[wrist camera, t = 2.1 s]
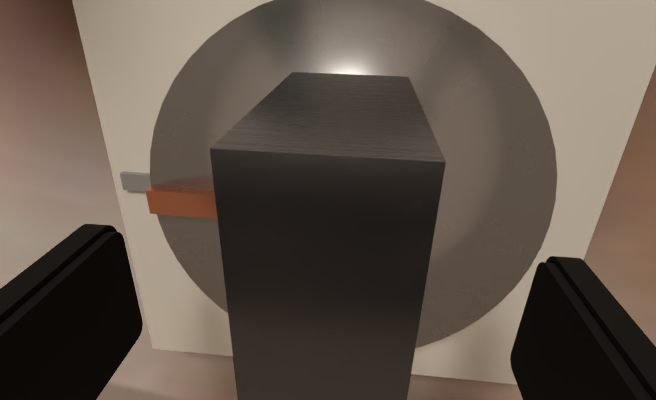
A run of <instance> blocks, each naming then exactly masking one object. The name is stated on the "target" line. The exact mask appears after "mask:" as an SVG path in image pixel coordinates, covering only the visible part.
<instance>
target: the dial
mask: <svg viewBox="0 0 656 400" xmlns="http://www.w3.org/2000/svg"><path fill="white" fill-rule="evenodd" d="M150 181H151V186H150V187H149V188H148V189H147V190H145V191H146V196H147V201H148V206H149V211H150V214H157V217H158V221H159V223H160V226H161V228H162V231H163V233H164V236H165V238H166V241H167V242H168V244H169V246H170V248H171V250H172V251H173V253H174V255H175V257H176V259H177V260H178V262H179V263H180V265H181V266H182V267H183V269H184V270H185V272H186V273H187V274H188V276H189V277H190V278H191V279H192V280H193V282H194V283H195V284H196V285H197V286H198V287H199V288H200V289H201V291H202V292H203V293H204V294H205V295H206V296H208V297H209V298H210V299H211V300H212V301H213V302H214V303H215V304H216V305H218V306H219V307H220V308H221V309H223V310H224V311H225V312H227V313H228V317H229V326H230V334H231V343H232V352H233V361H234V370H235V379H236V388H237V397H238V400H407V395H408V389H409V383H410V377H411V371H412V365H413V358H414V352H415V348H418V347H422V346H425V345H428V344H430V343H433V342H436V341H439V340H442V339H444V338H446V337H448V336H450V335H452V334H454V333H456V332H459V331H461V330H463V329H464V328H466V327H467V326H469V325H471V324H472V323H474V322H475V321H477V320H479V319H480V318H482V317H483V316H484V315H486V314H487V313H488V312H489V311H491V310H492V309H493V308H494V307H496V306H497V305H498V304H499V303H500V302H501V301H502V300H503V299H504V298H505V297H506V296H507V295H508V294H509V293H510V292H511V291H512V290H513V289H514V288H515V287H516V286H517V284H518V283H519V282H520V280H521V279H522V278H523V276H524V275H525V274H526V272H527V271H528V270H529V268H530V267H531V265H532V263H533V261H534V259H535V258H536V256H537V254H538V252H539V251H540V249H541V247H542V244H543V242H544V239H545V237H546V234H547V231H548V229H549V226H550V223H551V218H552V214H553V210H554V205H555V201H556V188H557V164H556V152H555V146H554V142H553V138H552V134H551V129H550V125H549V122H548V119H547V117H546V115H545V112H544V110H543V108H542V105H541V103H540V100H539V98H538V96H537V94H536V93H535V91H534V89H533V88H532V86H531V85H530V83H529V81H528V80H527V78H526V77H525V75H524V73H523V72H522V71H521V69H520V68H519V67H518V66H517V65H516V64H515V62H514V61H513V60H512V59H511V58H510V57H509V56H508V54H507V53H506V52H505V51H504V50H503V49H502V48H501V47H500V46H499V45H498V44H497V43H495V42H494V41H493V40H492V39H491V38H489V37H488V36H487V35H486V34H485V33H484V32H482V31H481V30H480V29H479V28H477V27H476V26H474V25H473V24H471V23H469V22H468V21H466V20H464V19H463V18H461V17H459V16H458V15H456V14H454V13H453V12H451V11H449V10H447V9H444V8H442V7H440V6H437V5H435V4H432V3H430V2H428V1H425V0H273V1H270V2H267V3H264V4H262V5H259V6H257V7H255V8H254V9H252V10H250V11H248V12H246V13H244V14H242V15H241V16H239V17H237V18H235V19H233V20H232V21H230V22H229V23H228V24H226V25H225V26H224V27H222V28H221V29H220V30H218V31H217V32H216V33H215V34H213V35H212V36H211V37H209V38H208V39H207V40H206V41H205V42H204V43H203V44H202V45H201V46H200V47H199V49H198V50H197V51H196V52H195V53H194V54H193V55H192V56H191V57H190V58H189V59H188V61H187V62H186V63H185V65H184V66H183V68H182V69H181V70H180V72H179V73H178V75H177V76H176V77H175V79H174V80H173V82H172V84H171V86H170V88H169V90H168V92H167V94H166V96H165V98H164V100H163V102H162V105H161V108H160V111H159V114H158V117H157V120H156V123H155V127H154V132H153V138H152V144H151V150H150Z"/></svg>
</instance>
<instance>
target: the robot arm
mask: <svg viewBox="0 0 656 400" xmlns="http://www.w3.org/2000/svg"><path fill="white" fill-rule="evenodd" d="M142 324H143V323H142V317H141V313H140V309H139V304H138V300H137V295H136V291H135V287H134V282H133V278H132V273H131V269H130V264H129V260H128V256H127V251H126V247H125V242H124V238H123V236H122V234H121V233H119V232H117V231H116V229H115V228H114V227H113V226H110V225H96V224H85V225H83V226H81V227H80V228H78V229H77V230H76V231H75V232H73V233H72V234H71V235H69V236H68V237H67V238H65V239H64V240H63V241H62V242H60V243H59V244H58V245H56V246H55V247H54V248H53V249H51V250H50V251H49V252H47V253H46V254H45V255H44V256H42V257H41V258H40V259H38V260H37V261H36V262H35V263H33V264H32V265H31V266H29V267H28V268H27V269H26V270H24V271H23V272H22V273H20V274H19V275H18V276H17V277H15V278H14V279H13V280H11V281H10V282H9V283H7V284H6V285H5V286H4V287H2V288H1V289H0V400H96V399H97V398H98V396H99V395H100V393H101V392H102V390H103V389H104V387H105V386H106V384H107V383H108V382H109V380H110V379H111V377H112V376H113V374H114V373H115V371H116V370H117V368H118V367H119V366H120V364H121V363H122V361H123V360H124V358H125V357H126V355H127V354H128V352H129V351H130V350H131V348H132V347H133V345H134V344H135V342H136V341H137V339H138V338H139V336H140V334H141V331H142ZM510 362H511V369H512V372H513V374H514V377H515V380H516V382H517V385H518V387H519V390H520V392H521V395H522V397H523V400H656V347H655V346H654V344H653V343H652V342H651V341H650V340H649V338H648V337H647V336H646V335H645V334H644V332H643V331H642V330H641V329H640V328H639V326H638V325H637V324H636V323H635V322H634V320H633V319H632V318H631V317H630V316H629V314H628V313H627V312H626V311H625V310H624V308H623V307H622V306H621V305H620V304H619V303H618V301H617V300H616V299H615V298H614V297H613V295H612V294H611V293H610V292H609V291H608V289H607V288H606V287H605V286H604V285H603V283H602V282H601V281H600V280H599V279H598V277H597V276H596V275H595V274H594V273H593V271H592V270H591V269H590V268H589V267H588V265H587V264H586V263H585V262H584V261H583V260H582V259H580V258H573V257H558V256H551V257H549V258H548V259H547V260H546V262H541V263H539V264H538V266H537V268H536V272H535V275H534V278H533V282H532V285H531V288H530V292H529V295H528V298H527V301H526V305H525V308H524V311H523V315H522V318H521V321H520V325H519V328H518V331H517V335H516V338H515V341H514V344H513V348H512V351H511V356H510Z"/></svg>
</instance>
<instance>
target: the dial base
mask: <svg viewBox="0 0 656 400" xmlns="http://www.w3.org/2000/svg"><path fill="white" fill-rule="evenodd" d="M270 1H273V0H72V2H73V6H74V11H75V15H76V19H77V24H78V28H79V32H80V37H81V41H82V45H83V50H84V54H85V58H86V62H87V67H88V71H89V75H90V80H91V84H92V88H93V93H94V97H95V101H96V105H97V110H98V114H99V118H100V123H101V127H102V131H103V136H104V140H105V144H106V149H107V153H108V157H109V161H110V166H111V170H112V174H113V179H114V183H115V187H116V192H117V196H118V200H119V204H120V209H121V213H122V217H123V222H124V226H125V230H126V235H127V239H128V243H129V247H130V252H131V256H132V260H133V265H134V269H135V273H136V278H137V282H138V286H139V291H140V295H141V299H142V303H143V308H144V312H145V316H146V321H147V325H148V329H149V334H150V338H151V342H152V346H153V349H163V350H173V351H183V352H193V353H203V354H213V355H224V356H233V352H232V343H231V334H230V326H229V317H228V313H227V312H225V311H224V310H223V309H221V308H220V307H219V306H218V305H216V304H215V303H214V302H213V301H212V300H211V299H210V298H209V297H208V296H206V295H205V294H204V293H203V292H202V291H201V289H200V288H199V287H198V286H197V285H196V284H195V283H194V282H193V280H192V279H191V278H190V277H189V276H188V274H187V273H186V272H185V270H184V269H183V267H182V266H181V265H180V263H179V262H178V260H177V259H176V257H175V255H174V253H173V251H172V250H171V248H170V246H169V244H168V242H167V241H166V238H165V236H164V233H163V231H162V228H161V226H160V223H159V221H158V217H157V214H150V211H149V206H148V201H147V196H146V191H145V190H147V189H148V188H149V187H150V186H151V181H150V150H151V144H152V138H153V132H154V127H155V123H156V120H157V117H158V114H159V111H160V108H161V105H162V102H163V100H164V98H165V96H166V94H167V92H168V90H169V88H170V86H171V84H172V82H173V80H174V79H175V77H176V76H177V75H178V73H179V72H180V70H181V69H182V68H183V66H184V65H185V63H186V62H187V61H188V59H189V58H190V57H191V56H192V55H193V54H194V53H195V52H196V51H197V50H198V49H199V47H200V46H201V45H202V44H203V43H204V42H205V41H206V40H207V39H208V38H209V37H211V36H212V35H213V34H215V33H216V32H217V31H218V30H220V29H221V28H222V27H224V26H225V25H226V24H228V23H229V22H230V21H232V20H233V19H235V18H237V17H239V16H241V15H242V14H244V13H246V12H248V11H250V10H252V9H254V8H255V7H257V6H259V5H262V4H264V3H267V2H270ZM425 1H428V2H430V3H432V4H435V5H437V6H440V7H442V8H444V9H447V10H449V11H451V12H453V13H454V14H456V15H458V16H459V17H461V18H463V19H464V20H466V21H468V22H469V23H471V24H473V25H474V26H476V27H477V28H479V29H480V30H481V31H482V32H484V33H485V34H486V35H487V36H488V37H489V38H491V39H492V40H493V41H494V42H495V43H497V44H498V45H499V46H500V47H501V48H502V49H503V50H504V51H505V52H506V53H507V54H508V56H509V57H510V58H511V59H512V60H513V61H514V62H515V64H516V65H517V66H518V67H519V68H520V69H521V71H522V72H523V73H524V75H525V77H526V78H527V80H528V81H529V83H530V85H531V86H532V88H533V89H534V91H535V93H536V94H537V96H538V98H539V100H540V103H541V105H542V108H543V110H544V112H545V115H546V117H547V119H548V122H549V125H550V129H551V134H552V138H553V142H554V146H555V152H556V164H557V188H556V201H555V205H554V210H553V214H552V218H551V223H550V226H549V229H548V231H547V234H546V237H545V239H544V242H543V244H542V247H541V249H540V251H539V252H538V254H537V256H536V258H535V259H534V261H533V263H532V265H531V267H530V268H529V270H528V271H527V272H526V274H525V275H524V276H523V278H522V279H521V280H520V282H519V283H518V284H517V286H516V287H515V288H514V289H513V290H512V291H511V292H510V293H509V294H508V295H507V296H506V297H505V298H504V299H503V300H502V301H501V302H500V303H499V304H498V305H497V306H496V307H494V308H493V309H492V310H491V311H489V312H488V313H487V314H486V315H484V316H483V317H482V318H480V319H479V320H477V321H475V322H474V323H472V324H471V325H469V326H467V327H466V328H464V329H463V330H461V331H459V332H456V333H454V334H452V335H450V336H448V337H446V338H444V339H442V340H439V341H436V342H433V343H430V344H428V345H425V346H422V347H418V348H415V352H414V358H413V365H412V371H411V374H415V375H425V376H435V377H445V378H455V379H465V380H476V381H486V382H496V383H506V384H516V385H517V382H516V380H515V377H514V374H513V372H512V369H511V362H510V356H511V351H512V348H513V344H514V341H515V338H516V335H517V331H518V328H519V325H520V321H521V318H522V315H523V311H524V308H525V305H526V301H527V298H528V295H529V292H530V288H531V285H532V282H533V278H534V275H535V272H536V268H537V266H538V264H539V263H541V262H546V260H547V259H548V258H549V257H551V256H558V257H573V258H580V259H582V260H583V259H584V257H585V254H586V251H587V249H588V246H589V243H590V240H591V238H592V235H593V232H594V230H595V227H596V224H597V222H598V219H599V216H600V213H601V211H602V208H603V205H604V203H605V200H606V197H607V195H608V192H609V189H610V186H611V184H612V181H613V178H614V176H615V173H616V170H617V168H618V165H619V162H620V159H621V157H622V154H623V151H624V149H625V146H626V143H627V141H628V138H629V135H630V132H631V130H632V127H633V124H634V122H635V119H636V116H637V113H638V111H639V108H640V105H641V103H642V100H643V97H644V95H645V92H646V89H647V86H648V84H649V81H650V78H651V76H652V73H653V70H654V68H655V65H656V0H425Z"/></svg>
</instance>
